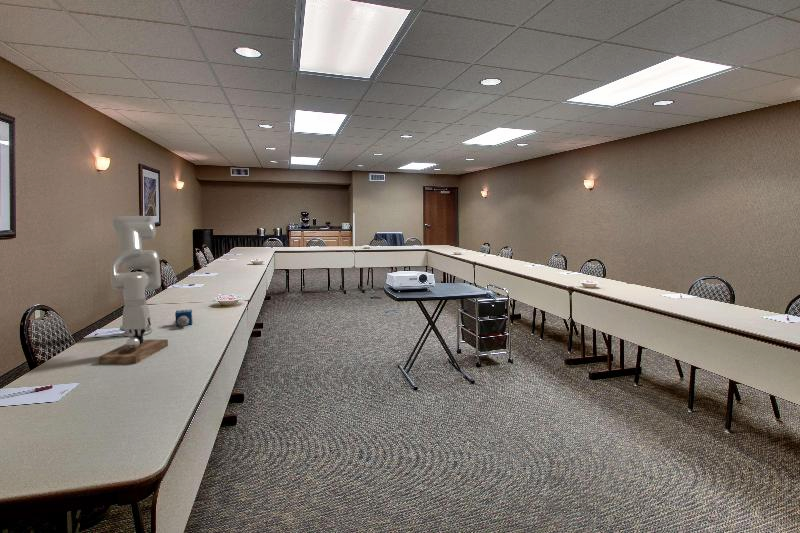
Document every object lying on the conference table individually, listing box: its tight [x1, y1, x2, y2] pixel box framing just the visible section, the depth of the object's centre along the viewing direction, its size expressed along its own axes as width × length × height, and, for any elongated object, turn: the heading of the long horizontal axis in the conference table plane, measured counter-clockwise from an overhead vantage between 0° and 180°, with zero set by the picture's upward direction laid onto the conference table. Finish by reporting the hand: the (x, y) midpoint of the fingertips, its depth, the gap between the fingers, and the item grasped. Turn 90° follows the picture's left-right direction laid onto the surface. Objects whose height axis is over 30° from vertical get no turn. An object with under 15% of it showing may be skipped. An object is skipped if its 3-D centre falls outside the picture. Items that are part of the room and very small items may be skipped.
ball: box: [125, 336, 140, 349], centre depth 182 cm, size 5×5×5 cm
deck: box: [98, 339, 169, 365], centre depth 184 cm, size 15×24×3 cm, turn 0°
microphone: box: [174, 309, 193, 328], centre depth 237 cm, size 8×8×25 cm
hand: (139, 343), depth 187 cm, fingers closed
